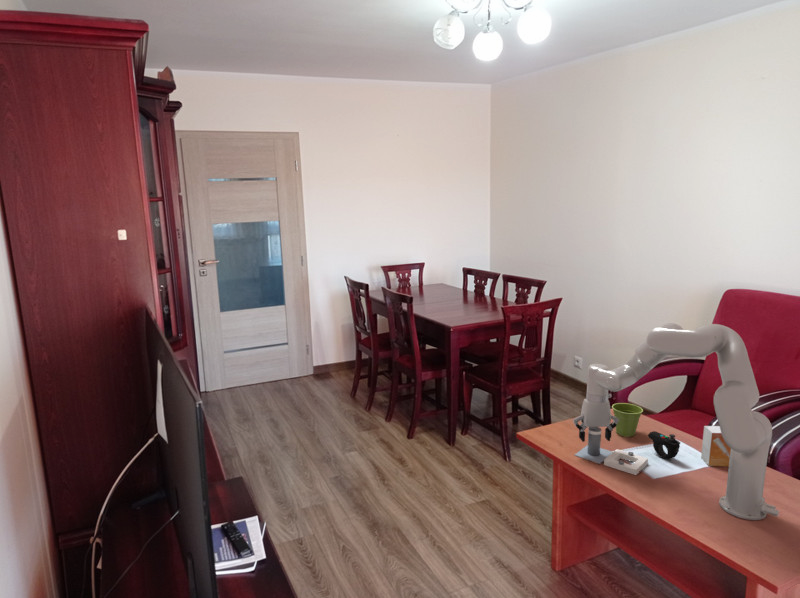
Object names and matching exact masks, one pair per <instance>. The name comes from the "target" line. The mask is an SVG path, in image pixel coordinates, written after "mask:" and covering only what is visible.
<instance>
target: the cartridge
mask: <svg viewBox="0 0 800 598" xmlns="http://www.w3.org/2000/svg"><path fill="white" fill-rule="evenodd" d="M587 431H588V434H587V436H588V437H587V445H588V451H587V453H588V454H589V455H591V456H599V455H600V448H601V441H602V427H587Z"/></svg>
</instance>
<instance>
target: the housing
mask: <svg viewBox="0 0 800 598" xmlns="http://www.w3.org/2000/svg"><path fill="white" fill-rule="evenodd" d="M612 452H613V453H611V454H610V455H609V456H608V457H607V458H606V459H604V461H603V465H604V466H607V467H608V468H612V469H615V470H619V471H621V472H624V473H628V474H630V475H634V476H637V475H638V474H639V473H640V472H641V471H642V470H643V469H644V468H645V467H646V466H647V465H648V464H649V462H648V461H649V458H647V457H645V456H640V455H638V454H635V453H634V452H633V451H628V452H627V451H624V450H621V449H619V448H618V449H617V448H616V449H615V450H614V451H612ZM620 459H621V460H620ZM624 459H625V461H627V460H630V461H629V462H631V461H633V462H632V463H633V464H629V463H626V462H625V461H624ZM634 462H635V463H634ZM647 463H648V464H647ZM646 464H647V465H646ZM645 465H646V466H645ZM644 466H645V467H644ZM643 467H644V468H643ZM642 468H643V469H642ZM641 469H642V470H641ZM640 470H641V471H640ZM639 471H640V472H639Z"/></svg>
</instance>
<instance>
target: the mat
mask: <svg viewBox="0 0 800 598" xmlns="http://www.w3.org/2000/svg"><path fill="white" fill-rule="evenodd" d="M587 451H588V444H586V446H584V447H583V448H581V449H580V450H579V451H577V452H576V453H575V454H574V456H575V457H578V458H581V459H584V460H587V461H589V462H590V461H591V462H593V463H595V464H600V465H602V463H604V459H606V458H607V457H608V456H609V455H610V454H611V453H613V452H614V451H611V450H608V449H605V448H602V447H600V455H599V456H591V455H589V454H588V453H587Z"/></svg>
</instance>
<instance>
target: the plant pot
mask: <svg viewBox="0 0 800 598" xmlns="http://www.w3.org/2000/svg"><path fill="white" fill-rule="evenodd" d="M611 408H612V410H613V414H614V415H613V416H615V417H617V418H618V419H619V422H618V423H617V425H616V427H615V433H616V435H619V436H621V437H626V438H630V437H635V436H636V432H637V428H638V425H639V421H640V418H641V416H642V413H643V412H644V409H643V408H642V407H641V406H638V405H636V404H633V403H627V402H617V403H614V404H612V406H611Z"/></svg>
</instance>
